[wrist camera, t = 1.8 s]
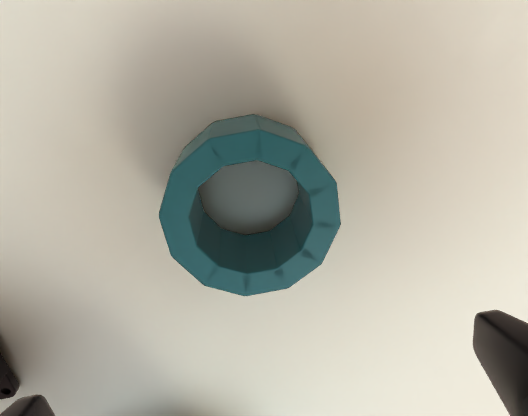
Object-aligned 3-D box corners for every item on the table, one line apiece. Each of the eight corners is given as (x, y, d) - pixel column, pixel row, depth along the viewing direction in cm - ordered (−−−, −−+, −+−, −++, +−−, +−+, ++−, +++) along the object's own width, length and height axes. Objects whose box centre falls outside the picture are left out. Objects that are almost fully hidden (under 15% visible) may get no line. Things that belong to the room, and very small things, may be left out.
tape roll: (195, 263, 19) (187, 307, 15) (157, 131, 16) (137, 151, 13) (327, 239, 19) (346, 278, 15) (311, 102, 16) (330, 115, 13)
